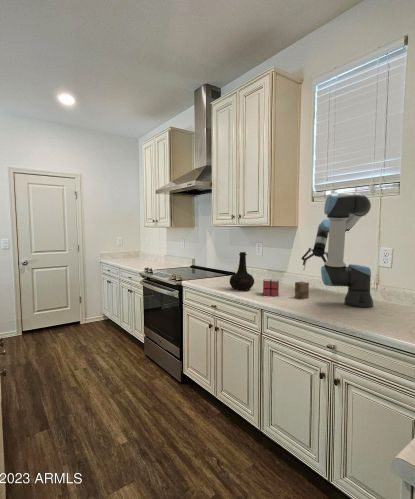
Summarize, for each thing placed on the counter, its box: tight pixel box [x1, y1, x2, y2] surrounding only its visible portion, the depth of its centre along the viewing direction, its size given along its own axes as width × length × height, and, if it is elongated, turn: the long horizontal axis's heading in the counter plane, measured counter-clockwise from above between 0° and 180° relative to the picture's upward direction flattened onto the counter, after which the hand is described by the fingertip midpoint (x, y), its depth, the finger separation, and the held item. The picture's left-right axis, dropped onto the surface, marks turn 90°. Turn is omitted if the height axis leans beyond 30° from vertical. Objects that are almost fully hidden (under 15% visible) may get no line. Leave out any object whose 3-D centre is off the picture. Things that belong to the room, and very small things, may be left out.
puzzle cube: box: [262, 278, 279, 297], centre depth 203 cm, size 10×10×10 cm
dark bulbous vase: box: [229, 251, 255, 292], centre depth 219 cm, size 18×18×28 cm
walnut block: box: [294, 281, 310, 300], centre depth 193 cm, size 6×6×10 cm
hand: (313, 272), depth 206 cm, fingers open, 13 cm apart
